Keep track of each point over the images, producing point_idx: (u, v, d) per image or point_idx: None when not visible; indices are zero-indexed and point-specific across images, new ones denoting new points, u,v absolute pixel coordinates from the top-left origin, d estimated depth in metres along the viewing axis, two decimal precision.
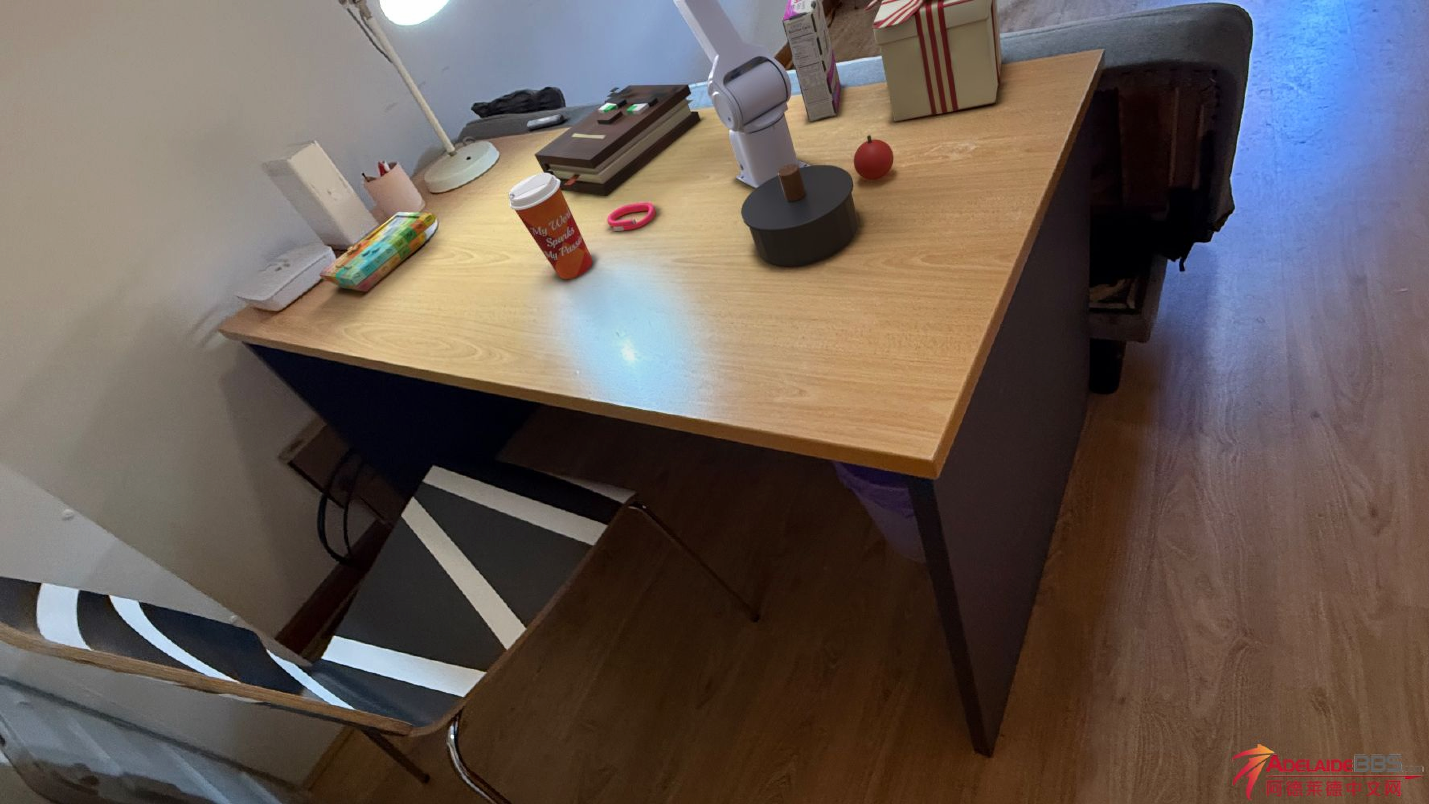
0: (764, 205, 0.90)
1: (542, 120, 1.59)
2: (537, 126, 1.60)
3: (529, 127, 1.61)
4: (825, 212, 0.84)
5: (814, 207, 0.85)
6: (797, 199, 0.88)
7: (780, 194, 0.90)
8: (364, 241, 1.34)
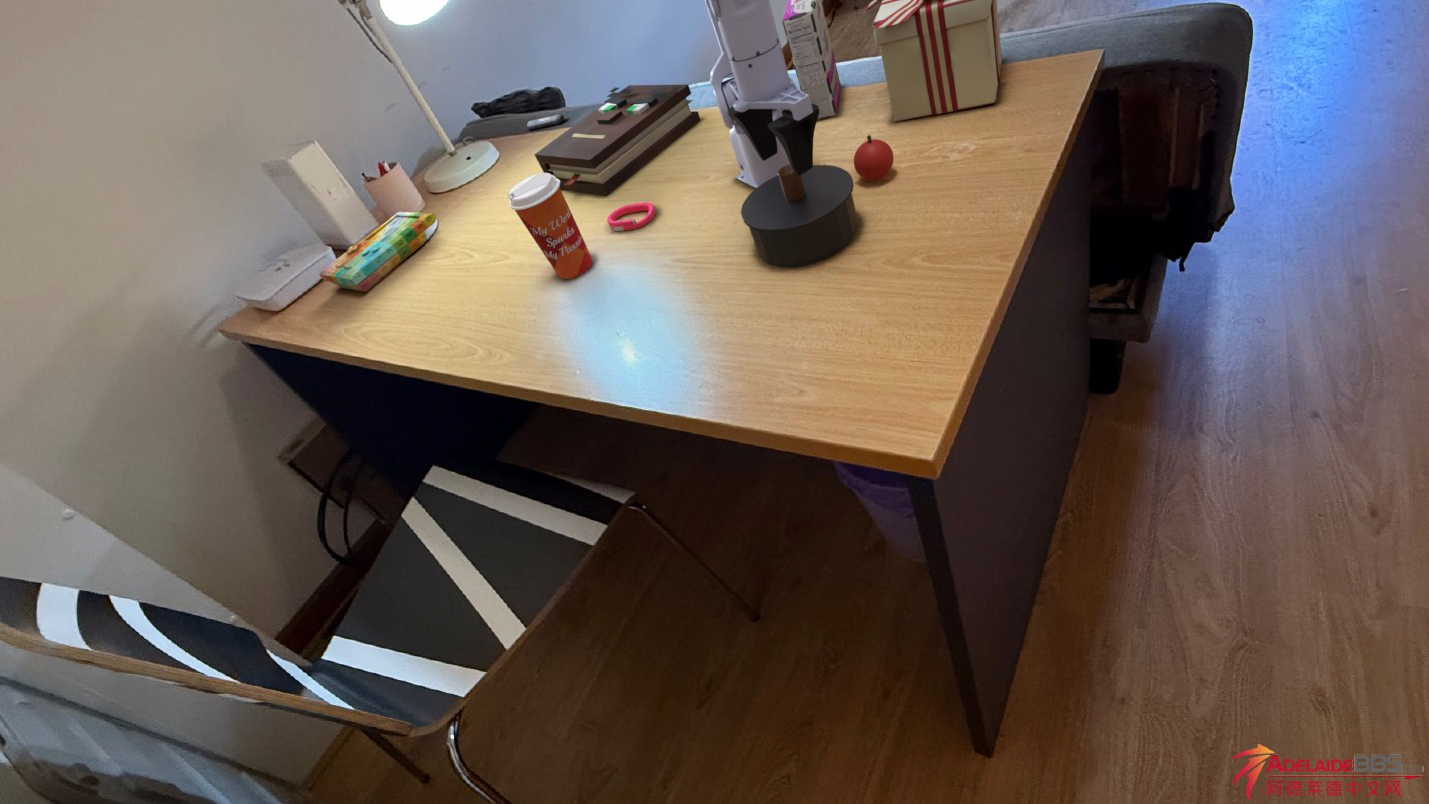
0: (764, 205, 0.90)
1: (542, 120, 1.59)
2: (537, 126, 1.60)
3: (529, 127, 1.61)
4: (825, 212, 0.84)
5: (814, 207, 0.85)
6: (797, 199, 0.88)
7: (780, 194, 0.90)
8: (364, 241, 1.34)
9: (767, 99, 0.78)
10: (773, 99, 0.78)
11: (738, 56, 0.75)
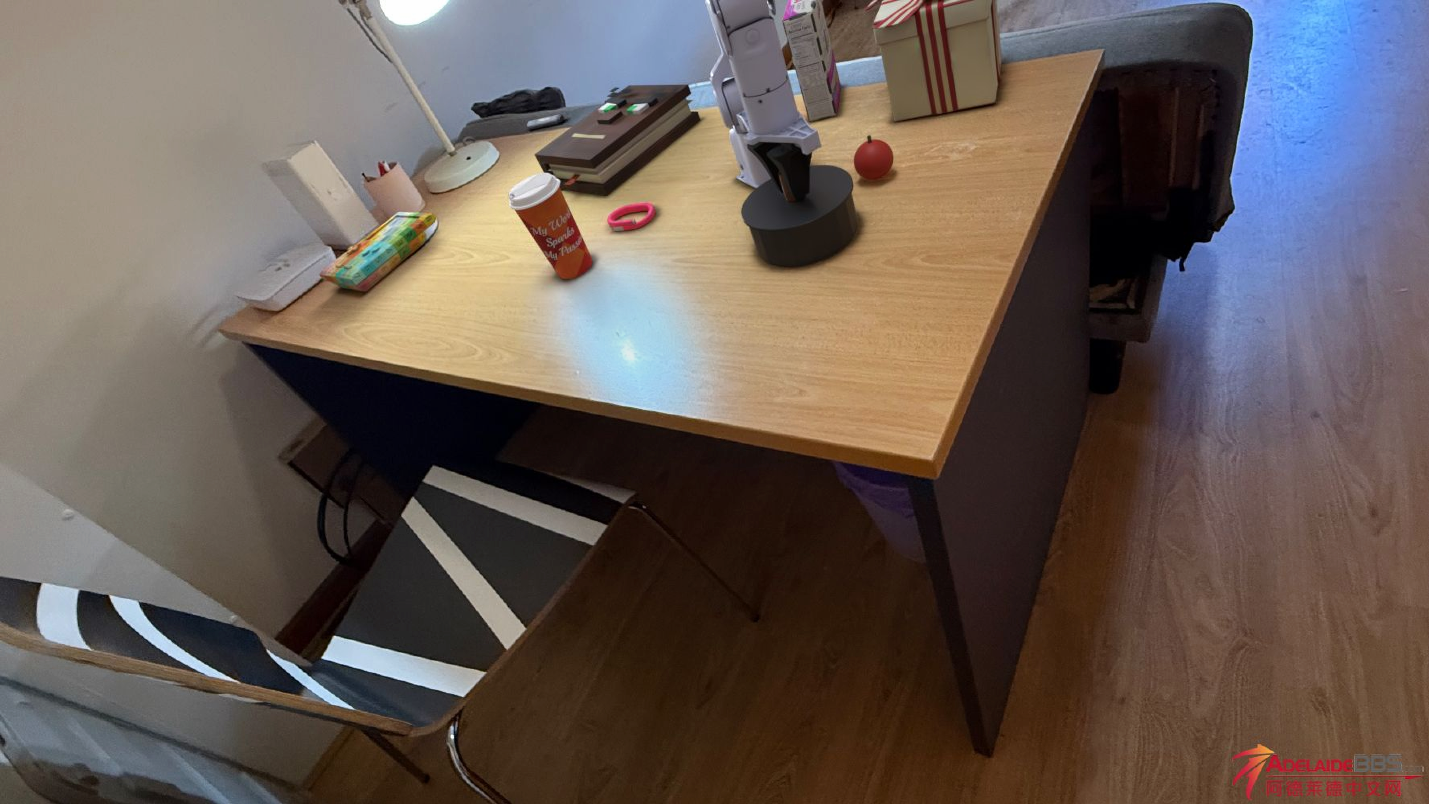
0: (764, 205, 0.90)
1: (542, 120, 1.59)
2: (537, 126, 1.60)
3: (529, 127, 1.61)
4: (825, 212, 0.84)
5: (814, 207, 0.85)
6: None
7: (780, 194, 0.90)
8: (364, 241, 1.34)
9: (776, 133, 0.80)
10: (782, 133, 0.80)
11: (749, 92, 0.78)
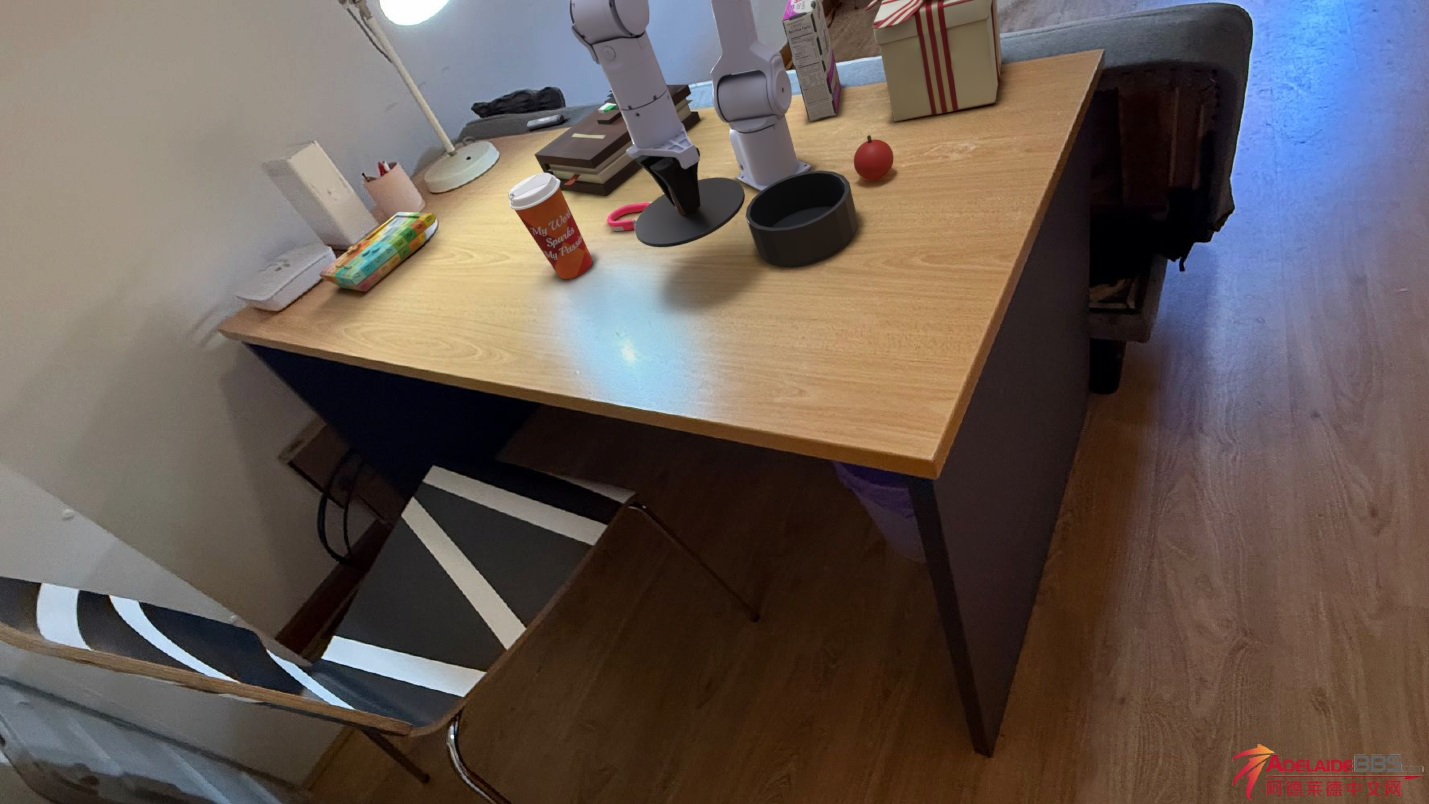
0: (657, 218, 0.88)
1: (542, 120, 1.59)
2: (537, 126, 1.60)
3: (529, 127, 1.61)
4: (712, 226, 0.82)
5: (703, 221, 0.84)
6: (688, 213, 0.86)
7: (674, 207, 0.89)
8: (364, 241, 1.34)
9: (657, 146, 0.79)
10: (663, 146, 0.79)
11: None
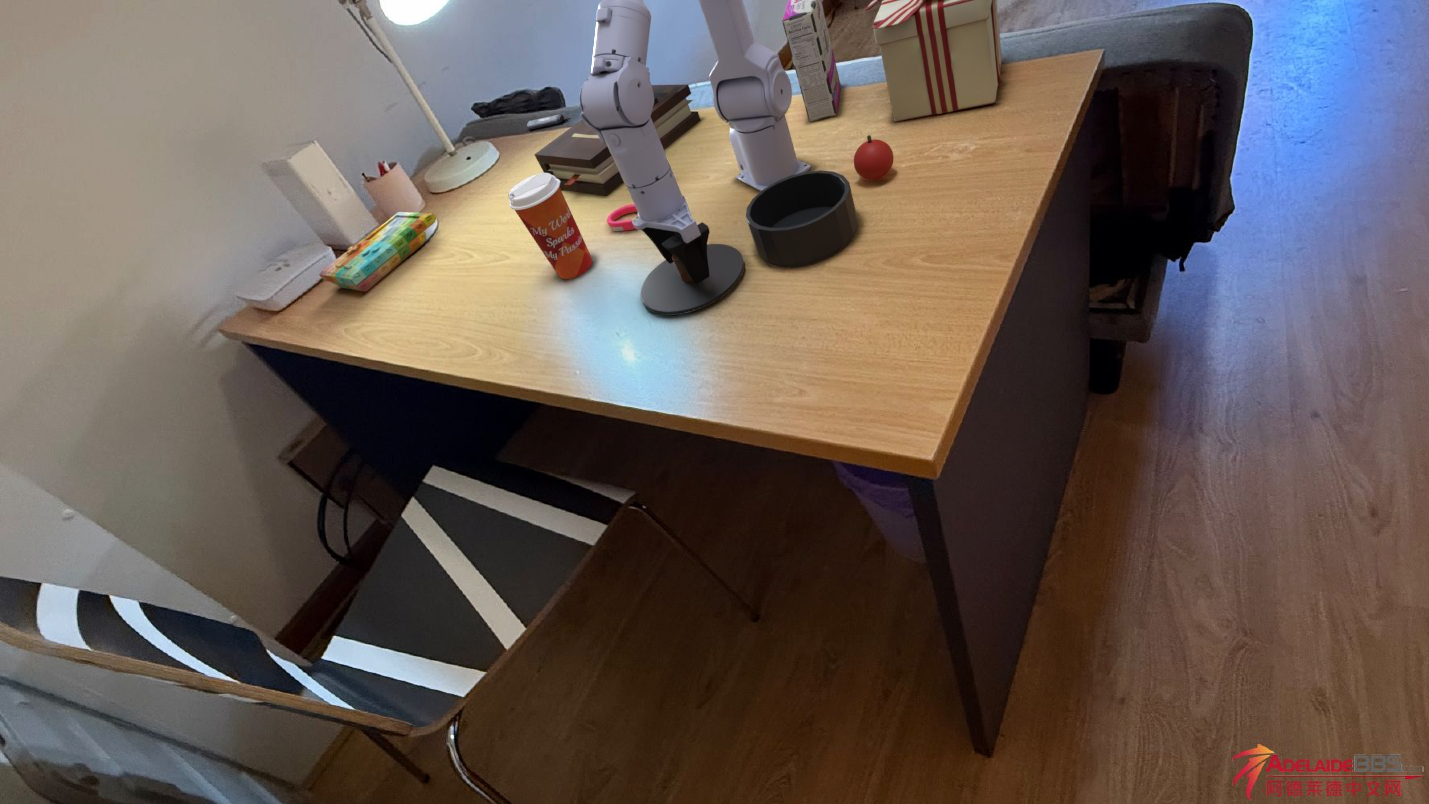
0: (662, 284, 0.94)
1: (542, 120, 1.59)
2: (537, 126, 1.60)
3: (529, 127, 1.61)
4: (713, 296, 0.88)
5: (705, 290, 0.89)
6: (691, 280, 0.92)
7: (678, 273, 0.94)
8: (364, 241, 1.34)
9: (661, 220, 0.84)
10: (666, 220, 0.84)
11: None
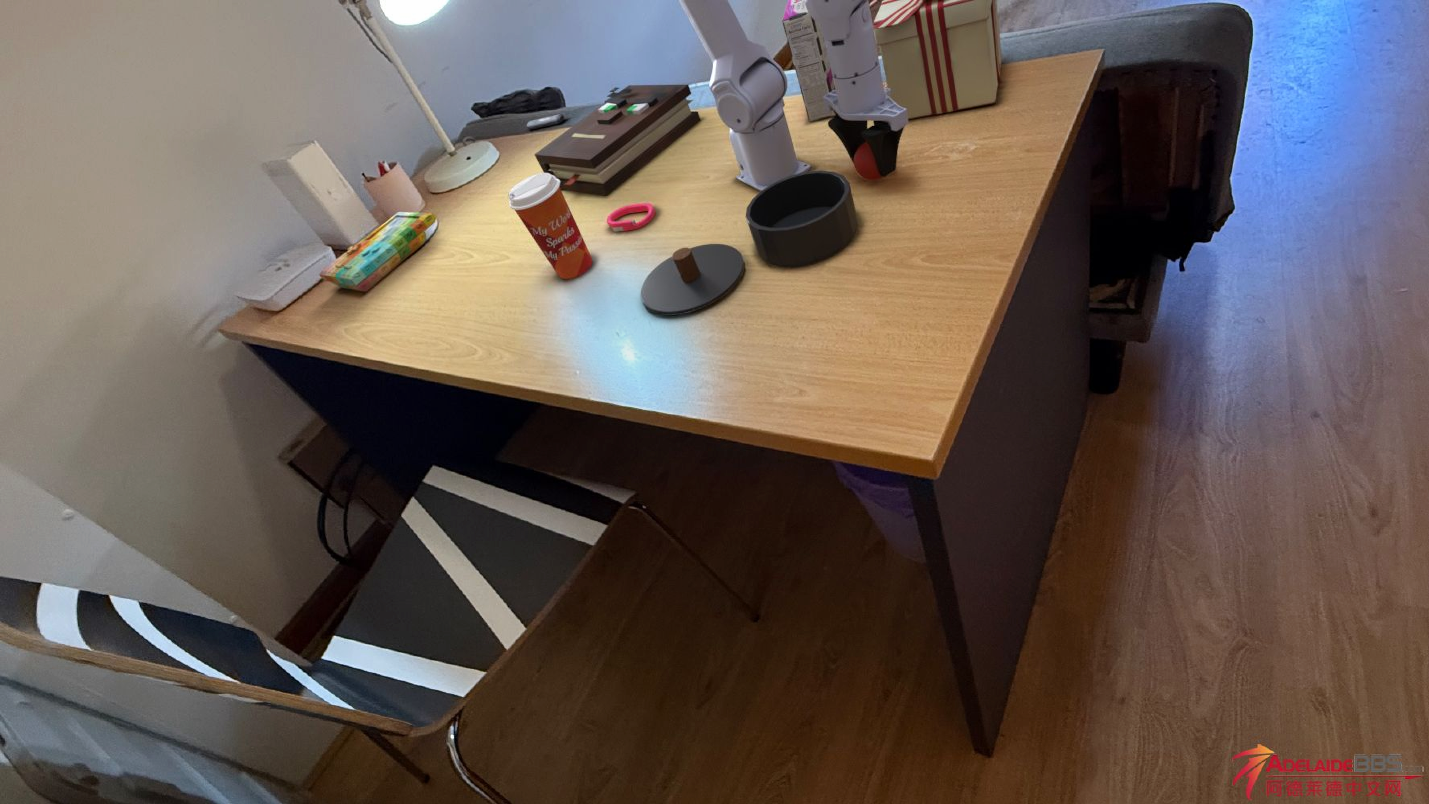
0: (662, 284, 0.94)
1: (542, 120, 1.59)
2: (537, 126, 1.60)
3: (529, 127, 1.61)
4: (713, 296, 0.88)
5: (705, 290, 0.89)
6: (691, 280, 0.92)
7: (678, 273, 0.94)
8: (364, 241, 1.34)
9: None
10: None
11: (862, 69, 0.85)
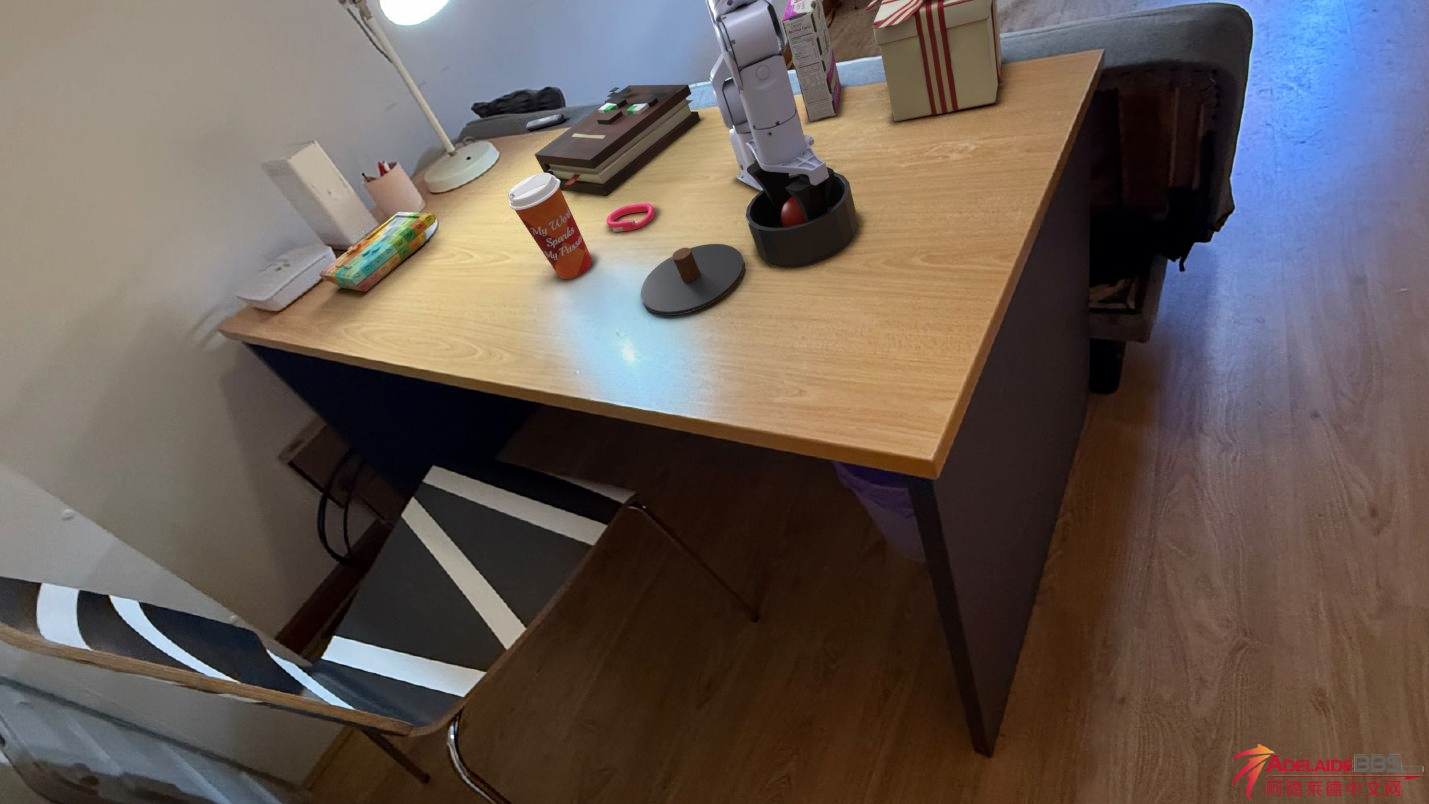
0: (662, 284, 0.94)
1: (542, 120, 1.59)
2: (537, 126, 1.60)
3: (529, 128, 1.61)
4: (713, 296, 0.88)
5: (705, 290, 0.89)
6: (691, 280, 0.92)
7: (678, 273, 0.94)
8: (364, 241, 1.34)
9: None
10: None
11: (759, 125, 0.80)
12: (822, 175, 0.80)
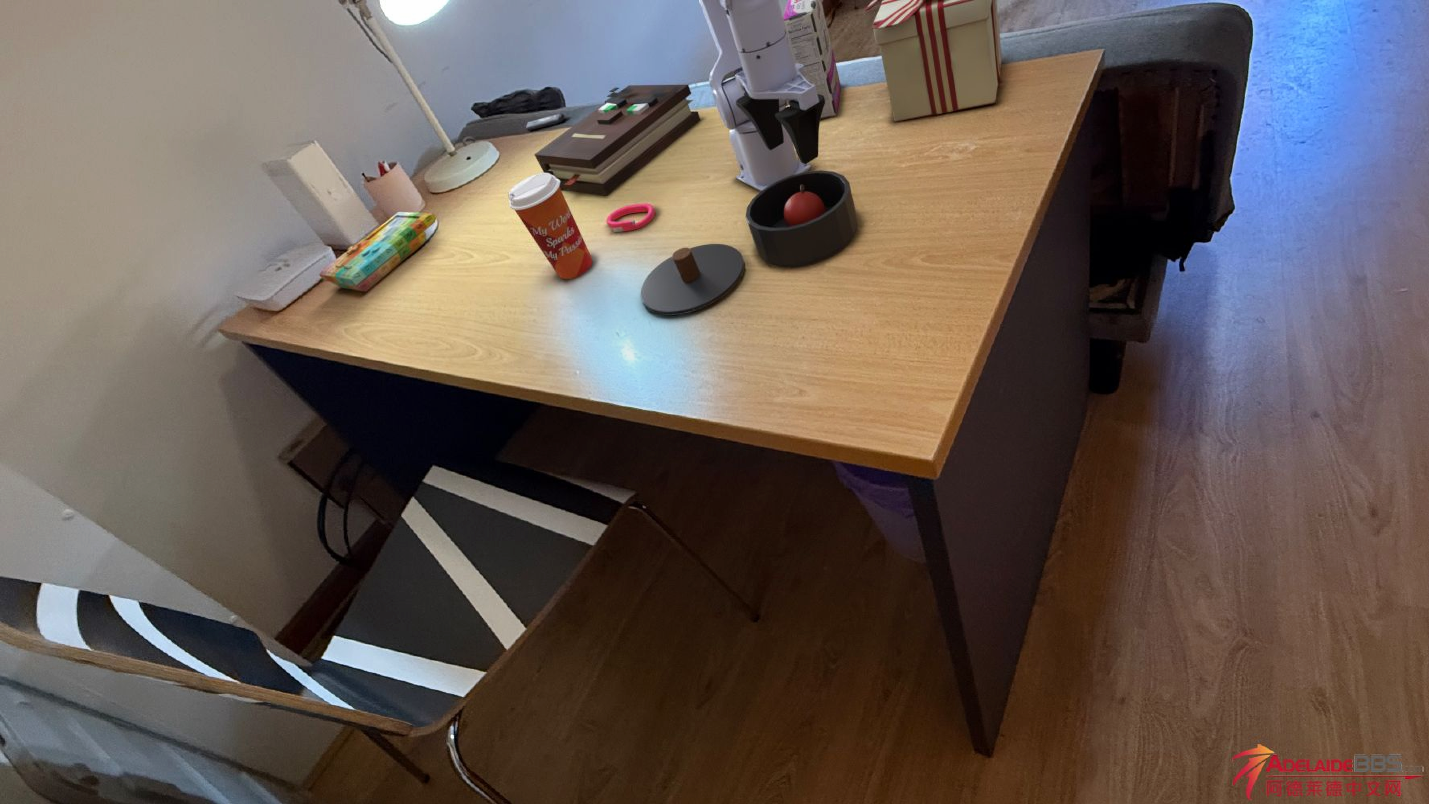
0: (662, 284, 0.94)
1: (542, 120, 1.59)
2: (537, 126, 1.60)
3: (529, 128, 1.60)
4: (713, 296, 0.88)
5: (705, 290, 0.89)
6: (691, 280, 0.92)
7: (678, 273, 0.94)
8: (364, 241, 1.34)
9: None
10: None
11: (749, 47, 0.78)
12: (812, 99, 0.78)
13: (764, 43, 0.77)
